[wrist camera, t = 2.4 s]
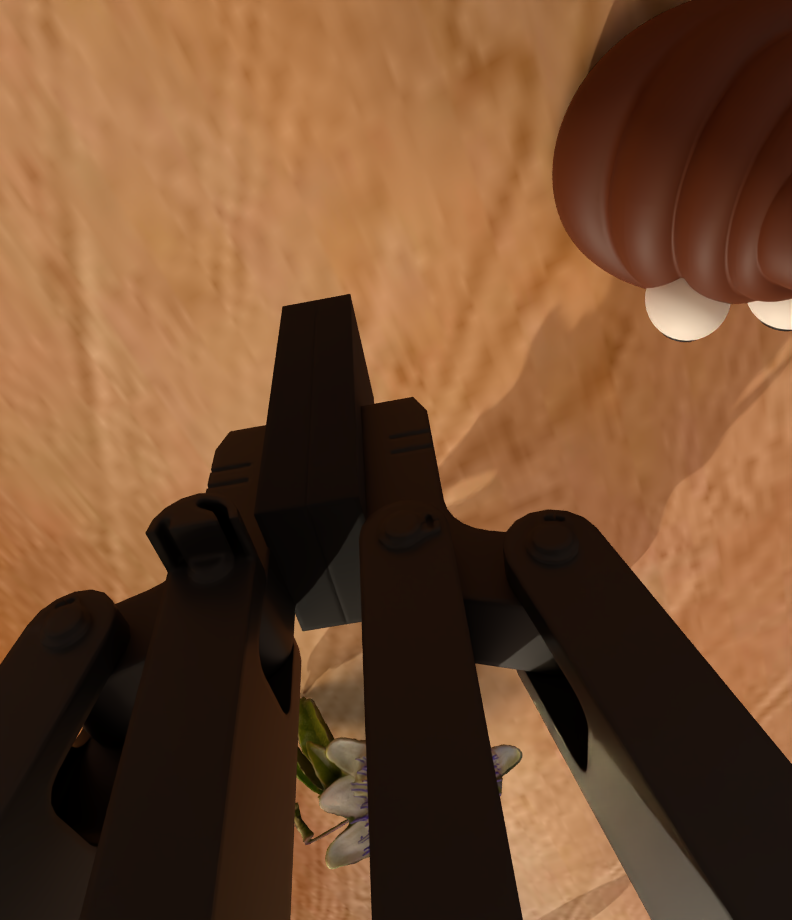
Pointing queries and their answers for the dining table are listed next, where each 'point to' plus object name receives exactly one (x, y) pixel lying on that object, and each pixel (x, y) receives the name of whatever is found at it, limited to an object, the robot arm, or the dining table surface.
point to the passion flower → (349, 783)
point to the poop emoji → (688, 164)
